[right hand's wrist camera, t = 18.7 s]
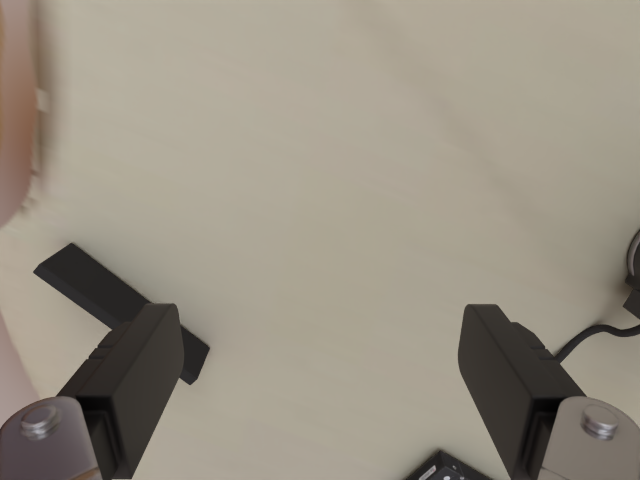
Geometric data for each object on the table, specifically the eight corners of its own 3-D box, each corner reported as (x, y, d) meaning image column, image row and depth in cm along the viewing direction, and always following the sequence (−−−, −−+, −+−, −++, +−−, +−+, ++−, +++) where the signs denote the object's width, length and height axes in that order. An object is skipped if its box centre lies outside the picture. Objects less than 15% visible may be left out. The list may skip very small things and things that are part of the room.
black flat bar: (64, 250, 40) (31, 273, 36) (71, 242, 40) (39, 263, 35) (202, 354, 45) (189, 386, 40) (210, 347, 45) (197, 379, 40)
